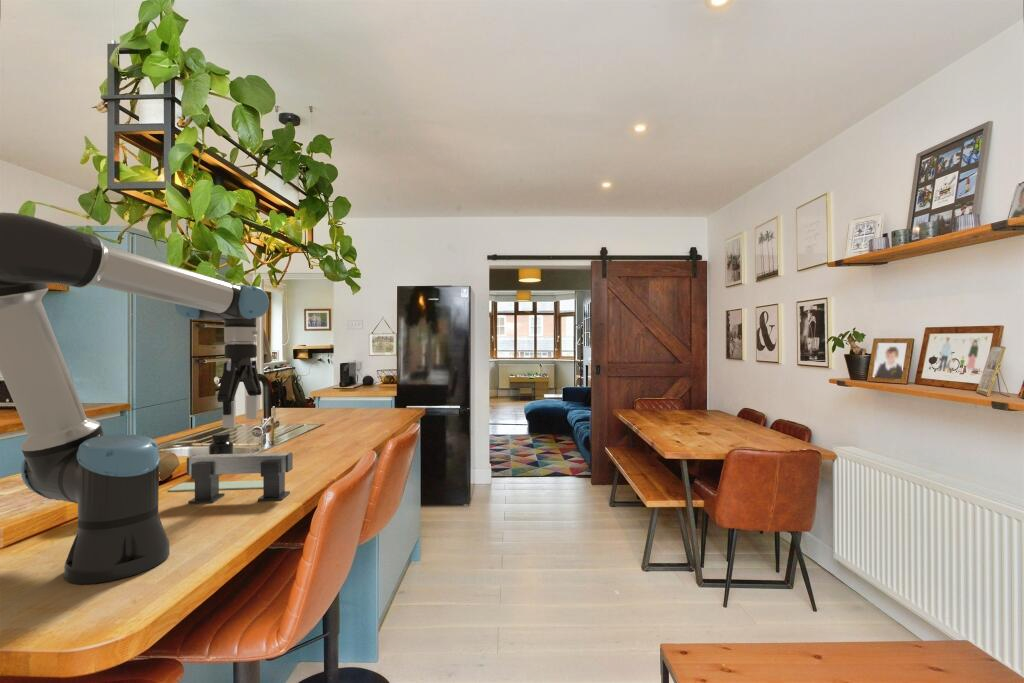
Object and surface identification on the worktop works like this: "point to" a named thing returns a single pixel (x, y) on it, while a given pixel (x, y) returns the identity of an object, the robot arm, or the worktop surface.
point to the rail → (241, 462)
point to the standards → (210, 484)
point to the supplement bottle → (221, 444)
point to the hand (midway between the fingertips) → (241, 423)
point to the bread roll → (167, 464)
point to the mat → (222, 485)
